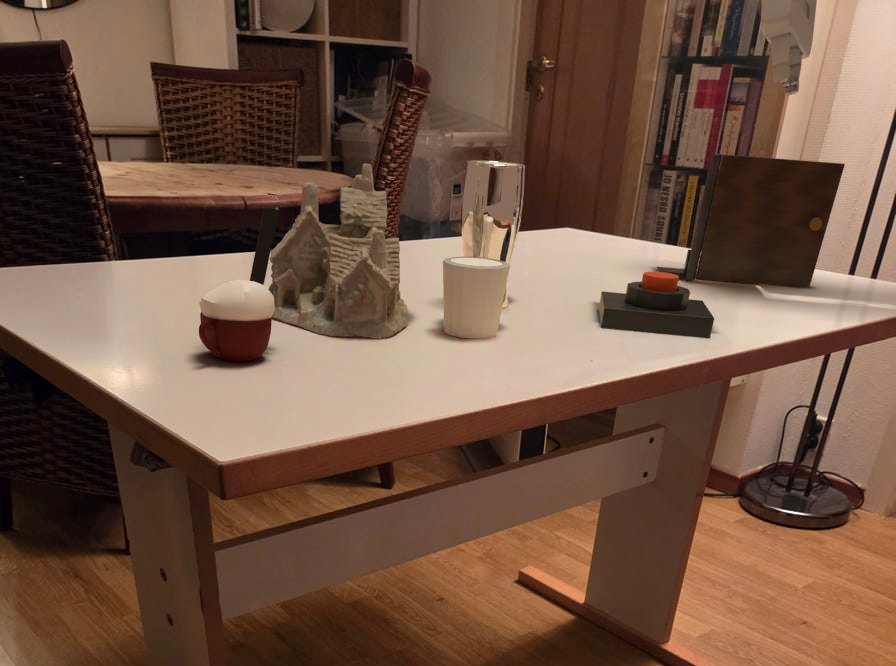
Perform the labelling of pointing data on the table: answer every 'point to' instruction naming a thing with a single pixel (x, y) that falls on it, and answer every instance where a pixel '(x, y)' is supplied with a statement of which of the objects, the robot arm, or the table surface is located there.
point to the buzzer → (655, 312)
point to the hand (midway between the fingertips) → (786, 87)
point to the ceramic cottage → (340, 267)
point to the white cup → (473, 295)
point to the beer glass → (492, 209)
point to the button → (660, 281)
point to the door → (762, 220)
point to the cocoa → (242, 306)
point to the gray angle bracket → (677, 269)
